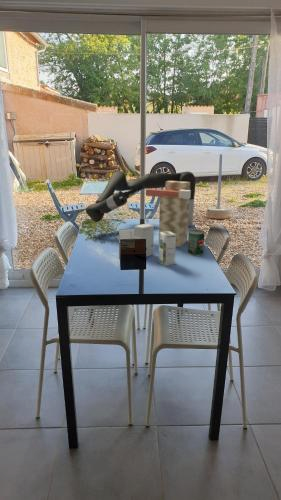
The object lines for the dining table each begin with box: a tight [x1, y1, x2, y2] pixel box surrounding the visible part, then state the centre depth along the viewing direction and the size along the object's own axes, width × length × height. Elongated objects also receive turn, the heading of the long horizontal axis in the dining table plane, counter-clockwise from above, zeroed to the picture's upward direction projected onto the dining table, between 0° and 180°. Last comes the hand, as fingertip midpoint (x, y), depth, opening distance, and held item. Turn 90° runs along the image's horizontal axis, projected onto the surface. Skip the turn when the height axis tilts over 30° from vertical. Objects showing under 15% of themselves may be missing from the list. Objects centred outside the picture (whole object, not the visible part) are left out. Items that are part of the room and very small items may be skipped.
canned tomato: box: [187, 229, 206, 256], centre depth 184 cm, size 8×8×11 cm
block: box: [145, 188, 191, 199], centre depth 193 cm, size 23×4×4 cm, turn 67°
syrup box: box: [158, 231, 176, 267], centre depth 170 cm, size 6×6×14 cm
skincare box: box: [133, 223, 155, 257], centre depth 180 cm, size 8×6×15 cm
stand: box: [158, 181, 190, 248], centre depth 197 cm, size 12×13×32 cm
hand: (140, 187), depth 197 cm, fingers open, 8 cm apart
